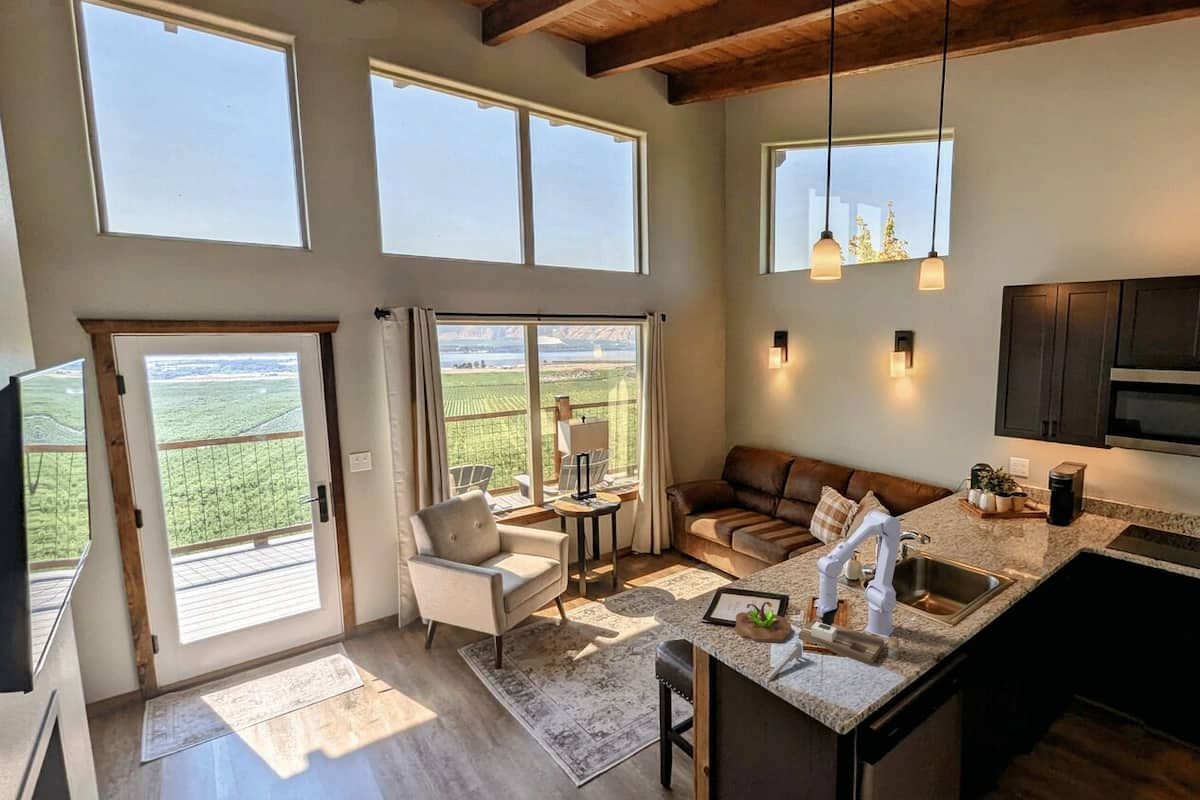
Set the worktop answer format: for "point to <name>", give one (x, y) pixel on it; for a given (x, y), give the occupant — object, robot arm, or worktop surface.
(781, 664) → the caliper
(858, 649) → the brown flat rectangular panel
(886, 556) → the robot arm
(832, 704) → the worktop surface
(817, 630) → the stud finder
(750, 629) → the plant
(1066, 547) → the worktop surface
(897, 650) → the peg
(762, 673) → the worktop surface
